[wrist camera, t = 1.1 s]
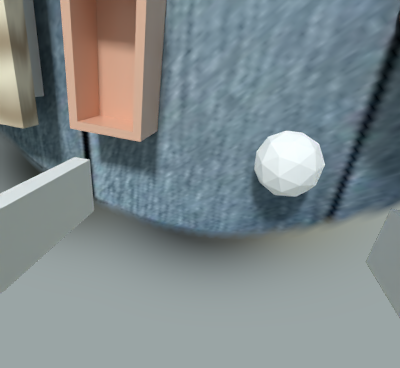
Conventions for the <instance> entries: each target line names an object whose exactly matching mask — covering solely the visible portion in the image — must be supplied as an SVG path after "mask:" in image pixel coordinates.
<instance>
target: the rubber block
mask: <svg viewBox="0 0 400 368" xmlns="http://www.w3.org/2000/svg"><path fill="white" fill-rule="evenodd" d="M23 8H24V15H25V23H26V31H27V39H28V46H29V54H30V62H31V69H32V77H33V85H34V93H35V97H40V96H44V91H43V82H42V73H41V65H40V56H39V47H38V38H37V30H36V21H35V12H34V4H33V0H23Z"/></svg>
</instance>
